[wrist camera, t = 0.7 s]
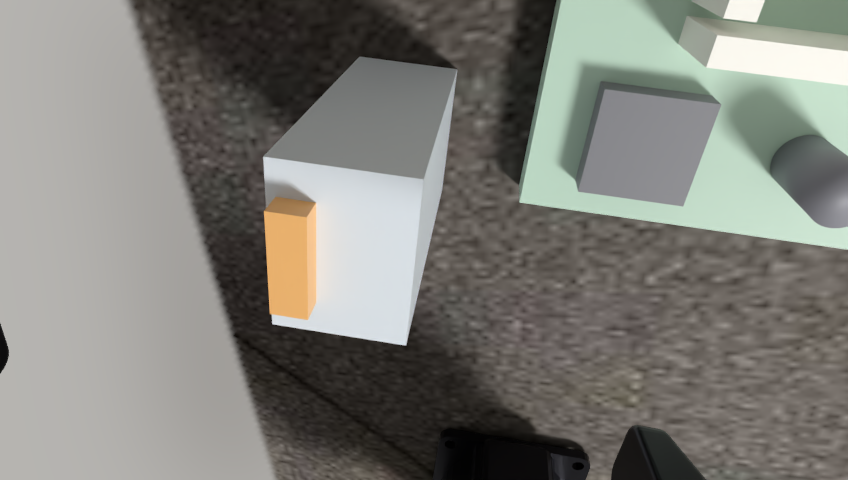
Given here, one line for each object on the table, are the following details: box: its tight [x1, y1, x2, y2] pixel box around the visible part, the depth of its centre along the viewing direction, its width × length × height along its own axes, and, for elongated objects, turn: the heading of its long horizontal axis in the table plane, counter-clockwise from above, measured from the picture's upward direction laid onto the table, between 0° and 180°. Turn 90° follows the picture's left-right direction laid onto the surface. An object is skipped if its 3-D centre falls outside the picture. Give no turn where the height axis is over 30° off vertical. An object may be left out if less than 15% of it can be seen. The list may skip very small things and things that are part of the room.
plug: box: [263, 57, 457, 346], centre depth 15 cm, size 4×3×9 cm
